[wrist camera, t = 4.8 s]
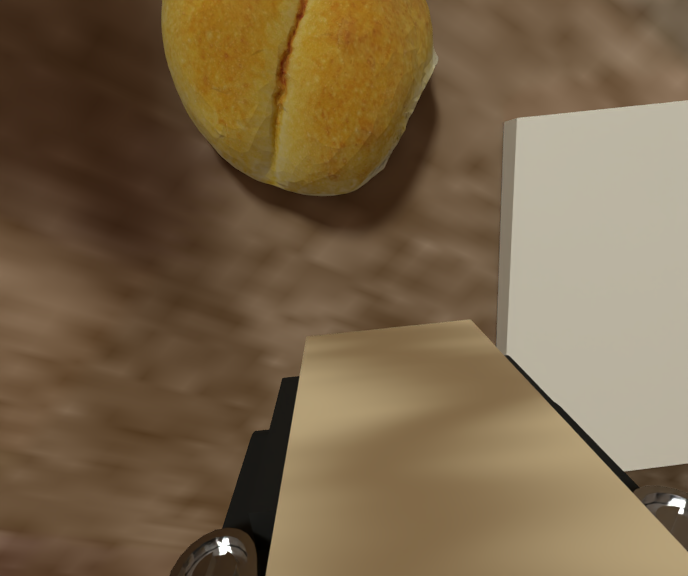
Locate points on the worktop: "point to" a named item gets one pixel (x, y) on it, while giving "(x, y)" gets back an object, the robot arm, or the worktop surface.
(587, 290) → the ceramic tile
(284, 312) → the worktop surface
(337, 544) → the maple block
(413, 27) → the bread roll
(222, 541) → the robot arm
